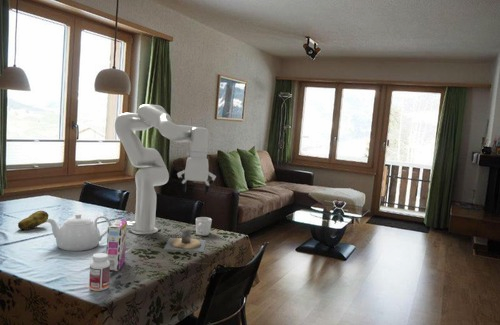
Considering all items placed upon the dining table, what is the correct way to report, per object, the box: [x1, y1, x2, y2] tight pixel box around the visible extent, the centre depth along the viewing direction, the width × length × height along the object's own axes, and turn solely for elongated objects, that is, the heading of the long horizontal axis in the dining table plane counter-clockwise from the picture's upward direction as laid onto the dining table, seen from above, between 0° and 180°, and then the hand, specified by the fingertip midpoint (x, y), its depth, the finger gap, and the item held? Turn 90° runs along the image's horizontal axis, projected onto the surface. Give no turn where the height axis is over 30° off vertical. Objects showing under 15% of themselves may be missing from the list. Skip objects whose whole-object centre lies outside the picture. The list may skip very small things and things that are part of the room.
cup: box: [195, 216, 213, 236], centre depth 205 cm, size 11×8×8 cm
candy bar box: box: [106, 219, 128, 272], centre depth 156 cm, size 11×5×16 cm, turn 5°
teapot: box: [45, 213, 112, 252], centre depth 176 cm, size 19×18×14 cm
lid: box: [171, 228, 200, 249], centre depth 187 cm, size 13×13×7 cm
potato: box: [17, 210, 49, 230], centre depth 194 cm, size 8×13×8 cm, turn 124°
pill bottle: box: [88, 252, 111, 292], centre depth 136 cm, size 6×6×11 cm
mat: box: [163, 237, 207, 253], centre depth 188 cm, size 17×17×1 cm
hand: (195, 193), depth 187 cm, fingers open, 9 cm apart
